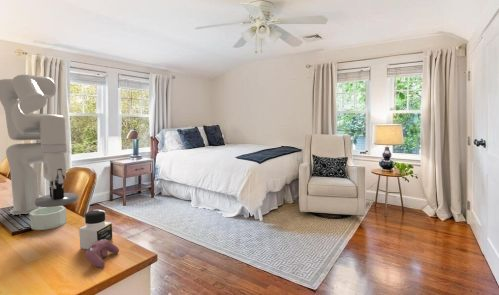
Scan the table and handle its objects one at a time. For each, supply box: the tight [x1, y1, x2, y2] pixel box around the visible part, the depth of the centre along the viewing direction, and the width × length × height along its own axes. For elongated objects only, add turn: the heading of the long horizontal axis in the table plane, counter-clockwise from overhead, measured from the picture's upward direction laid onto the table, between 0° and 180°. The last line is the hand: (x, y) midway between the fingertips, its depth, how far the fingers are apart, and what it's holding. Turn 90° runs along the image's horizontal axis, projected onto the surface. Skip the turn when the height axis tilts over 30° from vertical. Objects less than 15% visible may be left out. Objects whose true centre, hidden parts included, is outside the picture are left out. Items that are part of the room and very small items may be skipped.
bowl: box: [28, 205, 68, 231], centre depth 111 cm, size 12×12×6 cm
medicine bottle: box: [78, 209, 114, 250], centre depth 94 cm, size 7×7×12 cm
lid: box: [35, 185, 79, 207], centre depth 101 cm, size 13×13×6 cm
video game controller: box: [84, 239, 120, 268], centre depth 84 cm, size 10×5×7 cm, turn 178°
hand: (57, 197), depth 101 cm, fingers closed on lid, 3 cm apart
